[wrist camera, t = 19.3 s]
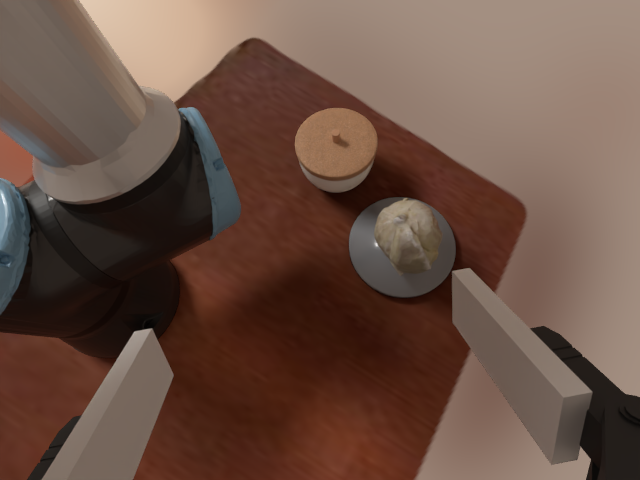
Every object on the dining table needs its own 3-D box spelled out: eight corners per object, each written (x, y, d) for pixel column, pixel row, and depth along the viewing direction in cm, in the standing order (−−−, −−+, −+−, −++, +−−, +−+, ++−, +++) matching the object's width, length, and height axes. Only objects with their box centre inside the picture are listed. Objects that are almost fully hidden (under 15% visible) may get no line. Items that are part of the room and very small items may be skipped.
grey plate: (361, 307, 45) (361, 305, 43) (339, 210, 50) (339, 207, 48) (467, 287, 45) (470, 285, 44) (435, 192, 50) (437, 188, 48)
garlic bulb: (414, 281, 47) (437, 293, 37) (356, 256, 47) (364, 261, 37) (442, 217, 46) (473, 211, 36) (384, 192, 47) (399, 179, 37)
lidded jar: (387, 170, 51) (397, 129, 43) (338, 218, 49) (337, 186, 40) (335, 130, 54) (334, 84, 46) (286, 174, 52) (275, 135, 43)
